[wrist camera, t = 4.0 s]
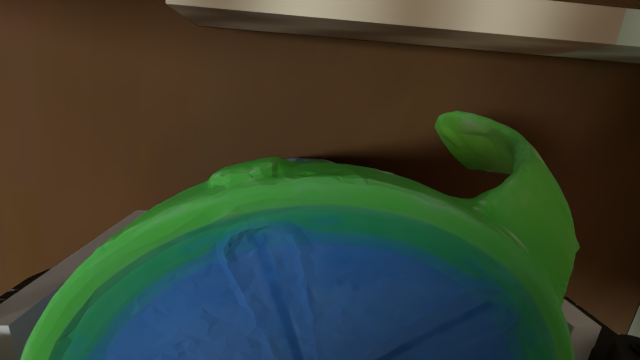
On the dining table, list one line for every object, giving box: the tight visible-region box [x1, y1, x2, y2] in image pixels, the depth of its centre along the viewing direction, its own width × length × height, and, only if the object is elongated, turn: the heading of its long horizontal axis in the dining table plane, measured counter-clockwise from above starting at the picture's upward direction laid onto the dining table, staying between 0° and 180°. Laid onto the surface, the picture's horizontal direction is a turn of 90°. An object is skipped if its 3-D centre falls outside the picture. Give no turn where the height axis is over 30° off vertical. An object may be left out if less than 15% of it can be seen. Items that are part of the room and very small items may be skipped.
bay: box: [166, 0, 640, 337], centre depth 13 cm, size 27×20×6 cm
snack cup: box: [20, 111, 580, 360], centre depth 10 cm, size 16×10×10 cm
